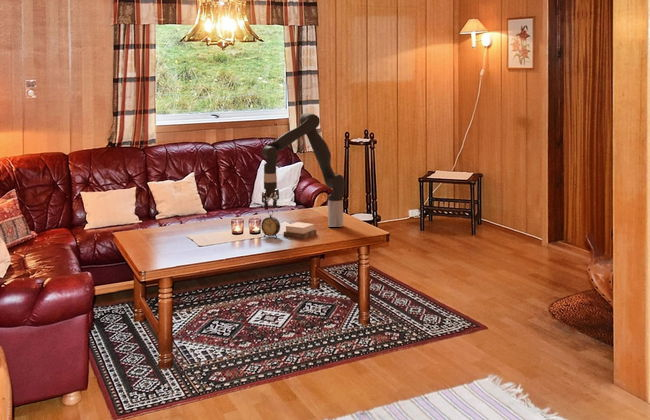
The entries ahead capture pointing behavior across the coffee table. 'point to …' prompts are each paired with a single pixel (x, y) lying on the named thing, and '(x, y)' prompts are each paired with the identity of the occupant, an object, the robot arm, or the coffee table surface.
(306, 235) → the walnut slab
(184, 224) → the coffee table surface
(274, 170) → the robot arm
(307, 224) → the cream slab
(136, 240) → the coffee table surface
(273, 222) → the alarm clock
